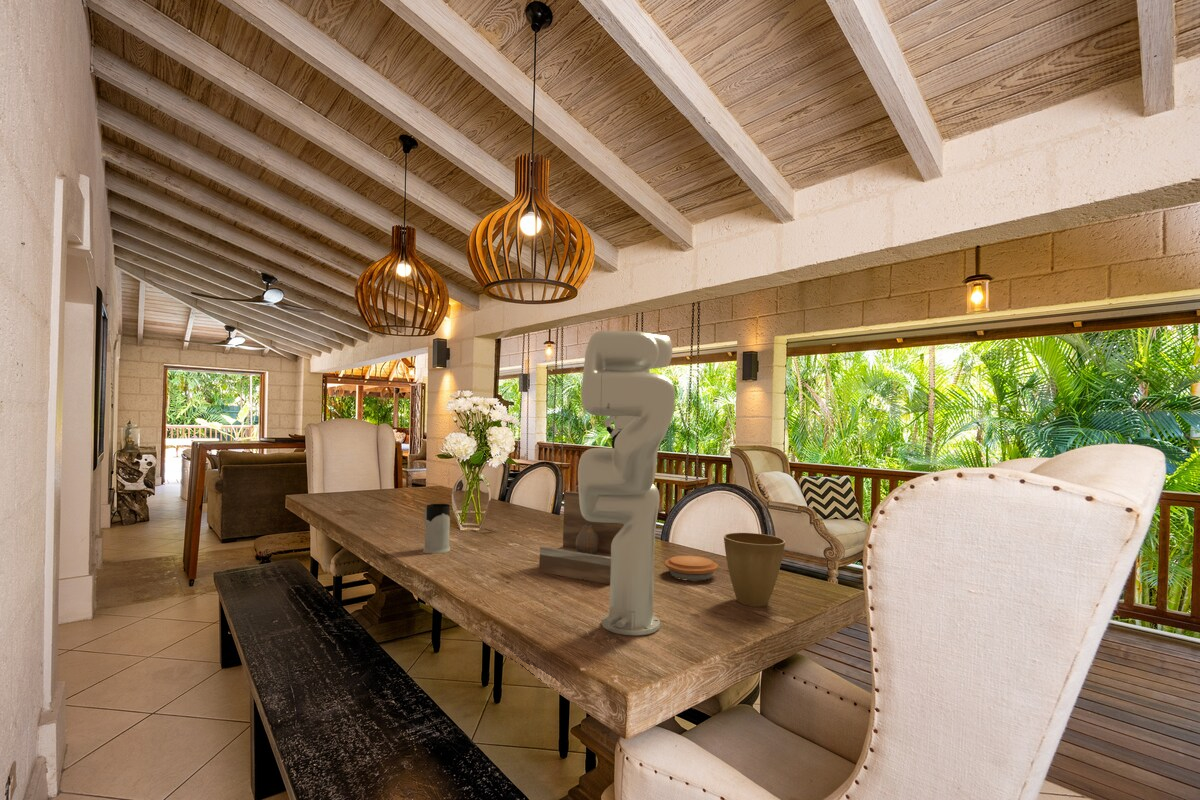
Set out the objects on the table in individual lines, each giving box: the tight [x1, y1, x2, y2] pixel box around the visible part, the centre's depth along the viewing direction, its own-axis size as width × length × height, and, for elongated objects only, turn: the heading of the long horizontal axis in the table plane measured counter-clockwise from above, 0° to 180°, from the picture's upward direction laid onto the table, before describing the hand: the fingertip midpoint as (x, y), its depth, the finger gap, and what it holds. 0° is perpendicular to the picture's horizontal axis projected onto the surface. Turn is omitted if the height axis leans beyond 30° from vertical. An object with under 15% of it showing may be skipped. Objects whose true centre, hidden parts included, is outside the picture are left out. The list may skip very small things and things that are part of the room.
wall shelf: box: [538, 490, 624, 585], centre depth 165 cm, size 14×24×22 cm, turn 61°
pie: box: [664, 555, 719, 581], centre depth 164 cm, size 16×16×5 cm
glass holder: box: [422, 503, 451, 555], centre depth 190 cm, size 9×14×15 cm, turn 41°
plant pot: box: [723, 532, 786, 607], centre depth 141 cm, size 15×15×16 cm
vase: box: [576, 525, 599, 555], centre depth 164 cm, size 7×7×9 cm
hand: (633, 453), depth 146 cm, fingers open, 9 cm apart
